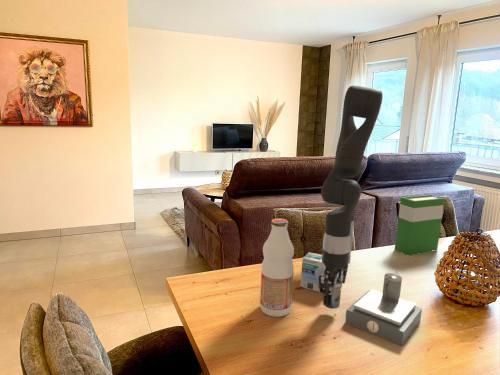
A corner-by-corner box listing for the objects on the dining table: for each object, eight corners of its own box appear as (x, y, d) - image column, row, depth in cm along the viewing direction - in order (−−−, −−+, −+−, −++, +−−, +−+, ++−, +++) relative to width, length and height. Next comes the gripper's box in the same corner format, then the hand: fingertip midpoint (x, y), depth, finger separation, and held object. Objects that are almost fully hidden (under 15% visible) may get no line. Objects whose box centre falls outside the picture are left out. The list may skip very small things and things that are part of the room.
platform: (353, 308, 107) (354, 304, 107) (371, 292, 117) (372, 289, 116) (399, 326, 99) (400, 322, 98) (415, 307, 109) (415, 303, 108)
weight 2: (385, 293, 114) (388, 271, 113) (401, 298, 111) (404, 276, 110) (379, 298, 111) (382, 276, 109) (396, 304, 108) (398, 281, 106)
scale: (344, 323, 107) (345, 309, 106) (367, 301, 120) (369, 289, 119) (401, 346, 97) (403, 331, 96) (420, 320, 110) (422, 307, 109)
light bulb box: (299, 287, 128) (301, 257, 126) (306, 279, 134) (308, 251, 132) (330, 295, 123) (332, 264, 121) (335, 286, 129) (338, 257, 127)
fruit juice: (270, 320, 107) (275, 227, 101) (254, 305, 115) (257, 218, 109) (297, 313, 112) (303, 223, 106) (279, 298, 120) (284, 214, 114)
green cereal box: (423, 245, 174) (430, 194, 169) (437, 250, 167) (444, 198, 162) (394, 249, 166) (400, 197, 161) (407, 255, 160) (414, 201, 155)
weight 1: (322, 307, 109) (324, 285, 108) (323, 299, 114) (325, 277, 112) (339, 309, 108) (341, 287, 107) (339, 301, 113) (341, 280, 112)
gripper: (336, 238, 115) (331, 288, 119) (311, 251, 104) (307, 306, 108) (359, 244, 110) (353, 297, 114) (336, 259, 100) (330, 316, 103)
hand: (331, 301), depth 111 cm, fingers closed on weight 1, 4 cm apart
